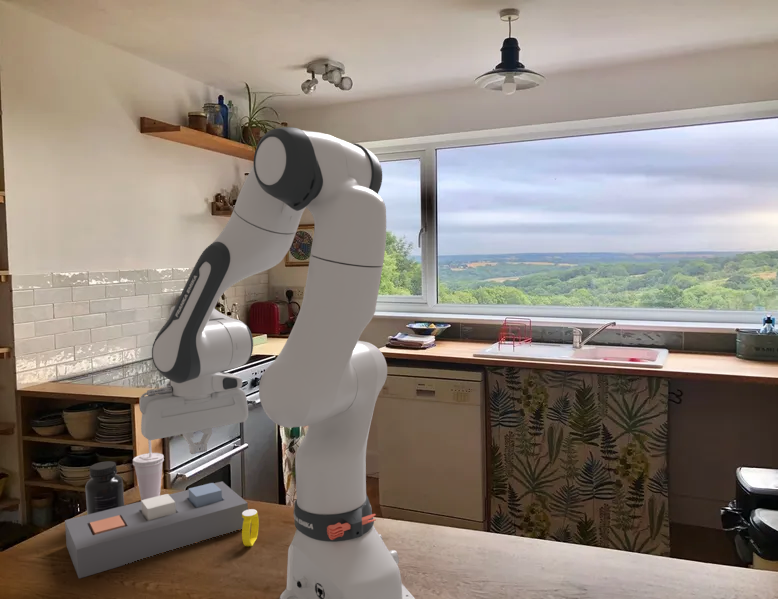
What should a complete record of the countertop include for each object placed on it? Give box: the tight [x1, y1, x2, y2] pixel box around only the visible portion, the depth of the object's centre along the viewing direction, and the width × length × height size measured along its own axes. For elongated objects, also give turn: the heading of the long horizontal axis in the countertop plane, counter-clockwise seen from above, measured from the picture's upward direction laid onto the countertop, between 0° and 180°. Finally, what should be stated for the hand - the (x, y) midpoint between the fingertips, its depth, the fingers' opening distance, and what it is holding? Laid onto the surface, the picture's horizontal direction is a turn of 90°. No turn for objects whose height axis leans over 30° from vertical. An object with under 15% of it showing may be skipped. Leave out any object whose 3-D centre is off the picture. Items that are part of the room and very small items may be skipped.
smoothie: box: [132, 439, 165, 501], centre depth 131 cm, size 6×6×14 cm
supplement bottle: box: [84, 461, 125, 515], centre depth 121 cm, size 7×7×12 cm
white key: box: [140, 493, 176, 521], centre depth 114 cm, size 5×5×4 cm
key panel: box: [64, 481, 249, 579], centre depth 114 cm, size 30×14×5 cm, turn 126°
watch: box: [241, 508, 260, 547], centre depth 111 cm, size 6×3×6 cm, turn 176°
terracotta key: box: [90, 515, 125, 535], centre depth 109 cm, size 5×5×4 cm
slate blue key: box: [187, 482, 222, 508], centre depth 119 cm, size 5×5×4 cm
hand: (198, 452), depth 118 cm, fingers closed
